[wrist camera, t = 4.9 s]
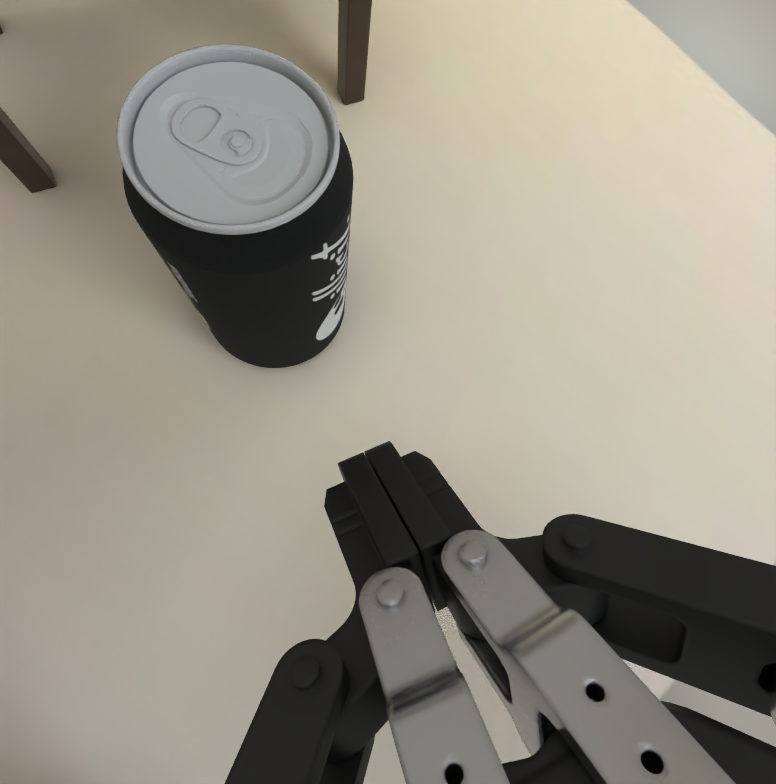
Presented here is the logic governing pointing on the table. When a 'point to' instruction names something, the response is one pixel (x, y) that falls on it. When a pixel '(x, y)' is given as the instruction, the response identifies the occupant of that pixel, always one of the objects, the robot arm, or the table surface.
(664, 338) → the table surface
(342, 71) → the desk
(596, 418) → the table surface
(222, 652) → the table surface
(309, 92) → the beverage can
